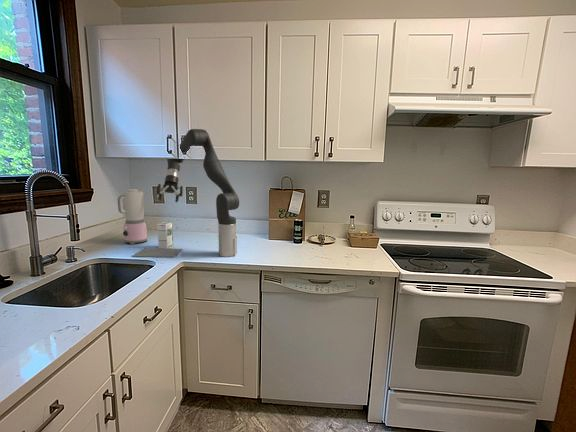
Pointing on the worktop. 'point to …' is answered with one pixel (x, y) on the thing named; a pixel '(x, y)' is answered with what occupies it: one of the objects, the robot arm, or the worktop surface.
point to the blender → (133, 216)
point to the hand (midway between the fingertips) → (168, 201)
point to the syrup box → (165, 235)
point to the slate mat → (157, 252)
